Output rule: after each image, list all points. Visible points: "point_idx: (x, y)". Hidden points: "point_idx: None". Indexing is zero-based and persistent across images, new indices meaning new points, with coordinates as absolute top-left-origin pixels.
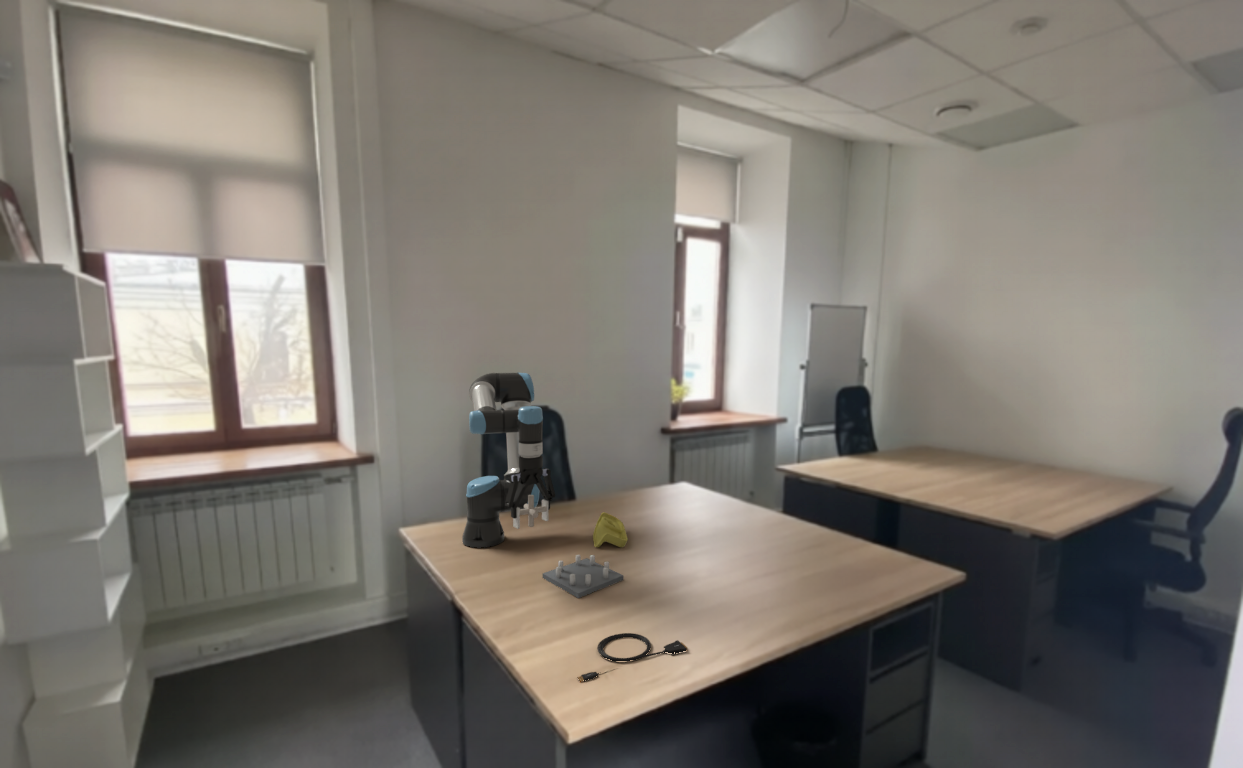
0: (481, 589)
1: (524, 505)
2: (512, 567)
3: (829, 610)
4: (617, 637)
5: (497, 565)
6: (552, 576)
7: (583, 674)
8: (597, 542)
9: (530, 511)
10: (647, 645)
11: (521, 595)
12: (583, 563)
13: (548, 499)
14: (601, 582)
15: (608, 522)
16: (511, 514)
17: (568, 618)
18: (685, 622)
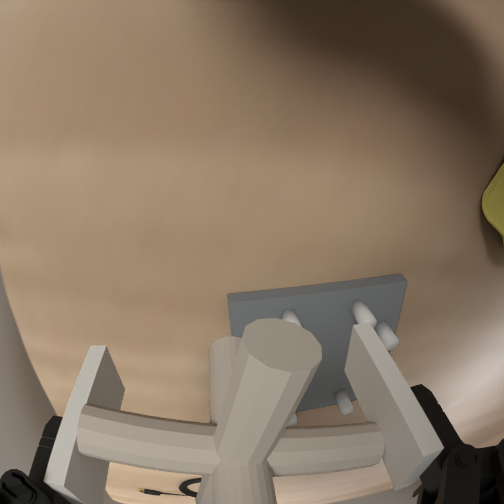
0: (41, 254)
1: (247, 370)
2: (179, 152)
3: None
4: None
5: (139, 100)
6: (242, 334)
7: (146, 491)
8: (499, 190)
9: (205, 485)
10: None
11: (128, 343)
12: (372, 308)
13: (423, 490)
14: (317, 404)
15: None
16: (45, 439)
17: None
18: (315, 478)
